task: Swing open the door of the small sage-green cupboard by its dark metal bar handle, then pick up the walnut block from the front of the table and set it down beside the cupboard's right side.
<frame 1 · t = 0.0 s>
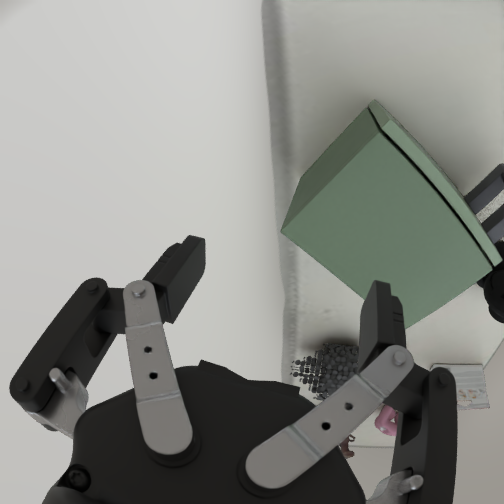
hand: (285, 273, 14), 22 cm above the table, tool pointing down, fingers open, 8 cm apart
video game controller: (397, 409, 56), on the table
door: (460, 152, 21), point 6 cm above the table, hinge at 0.0°
webcam: (494, 263, 32), on the table
ink cartridge box: (456, 366, 44), on the table
massage brush: (360, 351, 48), on the table
cupboard: (384, 191, 32), on the table
dinosaur model: (329, 407, 61), on the table
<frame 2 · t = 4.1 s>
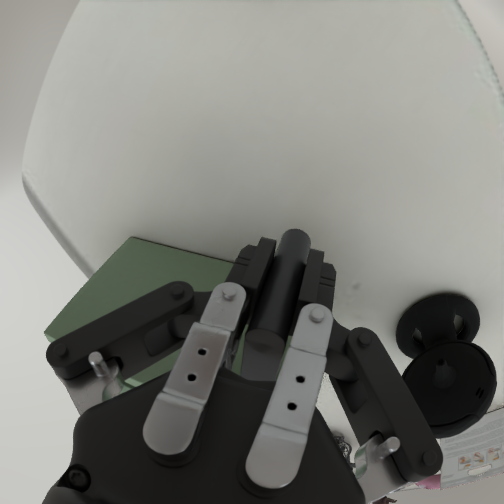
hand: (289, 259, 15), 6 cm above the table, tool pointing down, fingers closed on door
video game controller: (440, 459, 38), on the table
door: (180, 280, 18), point 6 cm above the table, hinge at 0.0°, touching gripper
webcam: (437, 323, 22), on the table
ink cartridge box: (476, 417, 28), on the table
massage brush: (343, 436, 38), on the table
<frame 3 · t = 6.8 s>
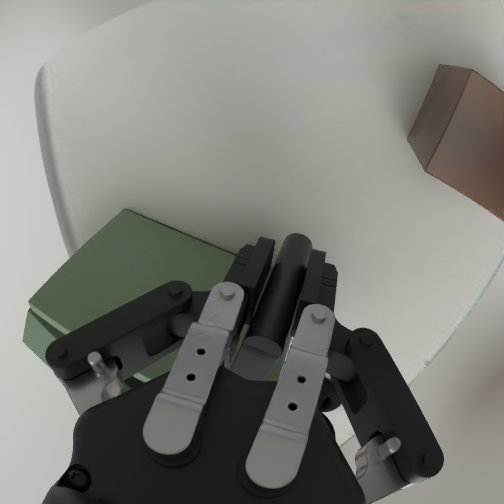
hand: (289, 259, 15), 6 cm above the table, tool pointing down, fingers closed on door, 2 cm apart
door: (175, 266, 17), point 6 cm above the table, hinge at 30.3°, touching gripper
webcam: (311, 389, 32), on the table
block: (460, 123, 13), on the table
cupboard: (157, 299, 30), on the table
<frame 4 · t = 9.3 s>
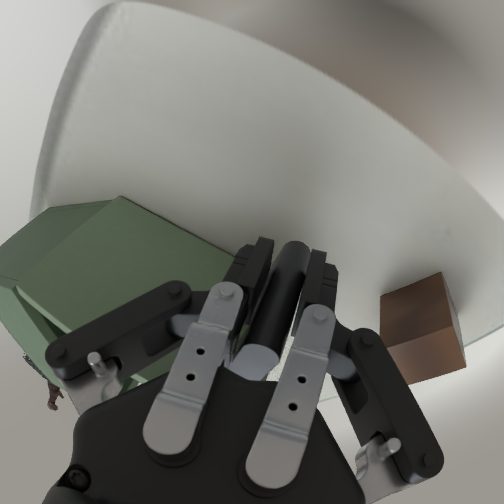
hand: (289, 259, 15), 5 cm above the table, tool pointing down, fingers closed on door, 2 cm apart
door: (171, 262, 17), point 6 cm above the table, hinge at 58.1°, touching gripper
block: (421, 306, 20), on the table
cupboard: (106, 270, 30), on the table
dinosaur model: (57, 358, 61), on the table
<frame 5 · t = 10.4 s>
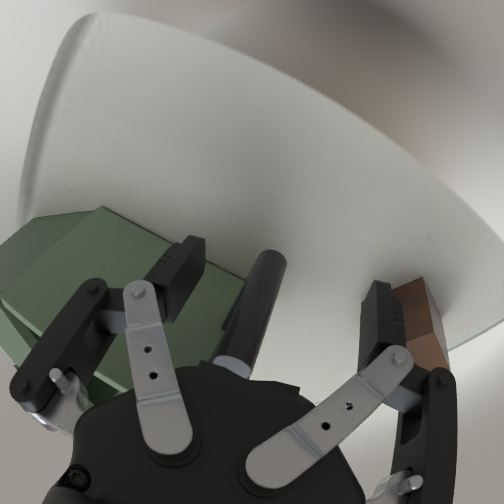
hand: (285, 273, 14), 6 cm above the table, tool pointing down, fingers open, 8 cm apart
door: (148, 273, 17), point 6 cm above the table, hinge at 58.2°
block: (403, 311, 21), on the table
cupboard: (90, 279, 29), on the table
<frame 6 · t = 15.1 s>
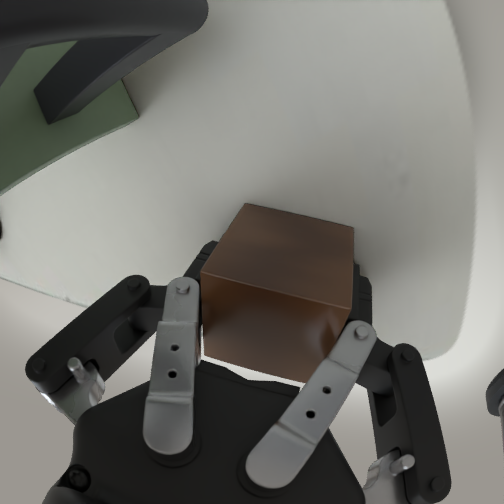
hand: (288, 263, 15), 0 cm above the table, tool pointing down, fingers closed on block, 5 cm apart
block: (290, 258, 15), on the table, touching gripper
when the fingers open (0 cm above the table, at t = 24.3 s): block stays where it is, on the table.
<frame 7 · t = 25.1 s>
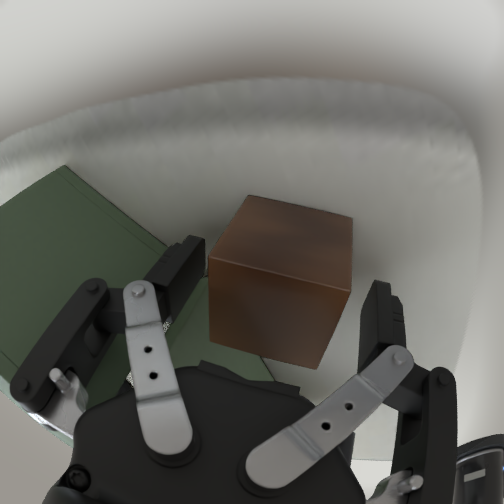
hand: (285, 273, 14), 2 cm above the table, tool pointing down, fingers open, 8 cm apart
door: (276, 430, 16), point 6 cm above the table, hinge at 58.2°
block: (291, 248, 16), on the table
cupboard: (98, 279, 22), on the table
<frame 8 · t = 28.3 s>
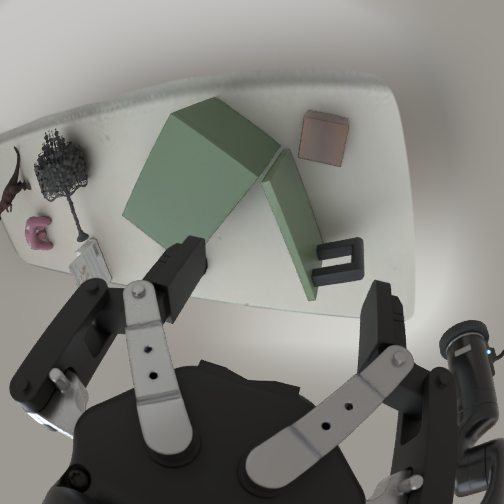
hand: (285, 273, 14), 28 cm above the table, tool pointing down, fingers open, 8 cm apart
video game controller: (46, 228, 64), on the table
door: (324, 216, 36), point 6 cm above the table, hinge at 58.2°
block: (325, 132, 36), on the table
ink cartridge box: (101, 258, 63), on the table
massage brush: (82, 176, 51), on the table
cupboard: (217, 162, 43), on the table
dinosaur model: (23, 172, 55), on the table
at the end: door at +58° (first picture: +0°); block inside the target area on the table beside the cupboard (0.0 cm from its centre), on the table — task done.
